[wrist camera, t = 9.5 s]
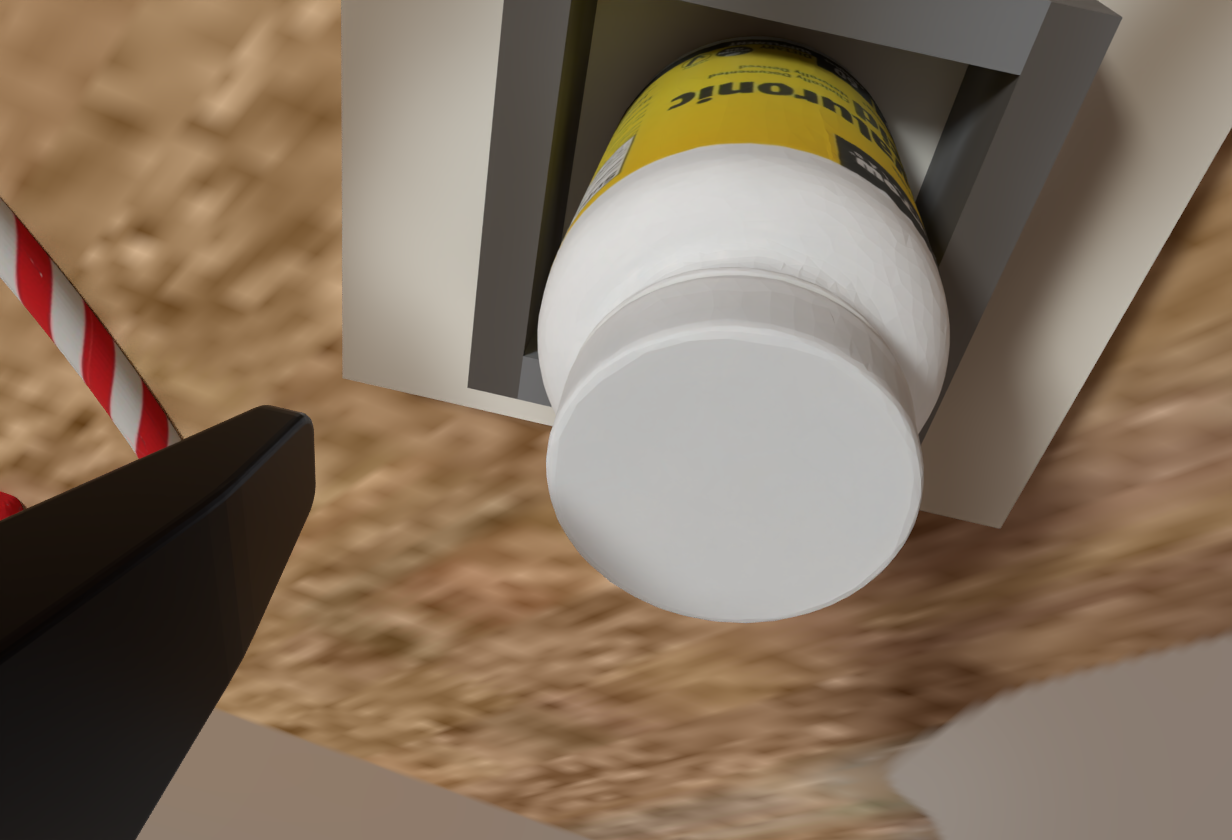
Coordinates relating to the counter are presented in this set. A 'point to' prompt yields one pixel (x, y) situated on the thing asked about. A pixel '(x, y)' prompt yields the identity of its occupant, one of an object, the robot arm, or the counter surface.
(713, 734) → the counter surface
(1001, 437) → the holder board
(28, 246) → the candy cane
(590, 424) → the supplement bottle
